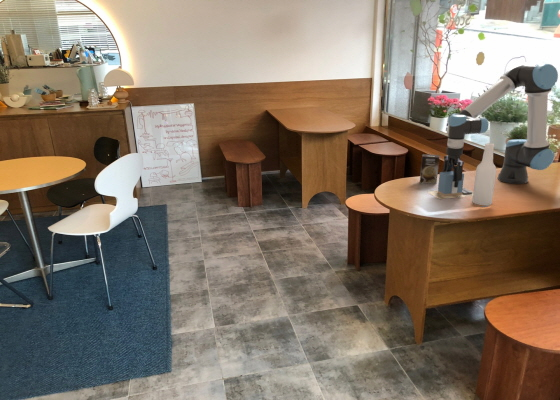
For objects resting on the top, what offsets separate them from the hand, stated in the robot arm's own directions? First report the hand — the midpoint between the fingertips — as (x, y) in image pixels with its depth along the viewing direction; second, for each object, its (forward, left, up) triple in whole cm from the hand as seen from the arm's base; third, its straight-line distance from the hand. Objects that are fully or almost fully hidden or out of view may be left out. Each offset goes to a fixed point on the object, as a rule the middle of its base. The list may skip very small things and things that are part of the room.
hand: (450, 190), depth 230 cm
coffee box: (0, -22, -3) cm, 22 cm away
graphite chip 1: (-7, 0, -1) cm, 7 cm away
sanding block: (0, 0, -1) cm, 2 cm away
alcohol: (-7, +15, -3) cm, 17 cm away
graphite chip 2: (-9, 0, -1) cm, 10 cm away
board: (-1, 0, -3) cm, 3 cm away
